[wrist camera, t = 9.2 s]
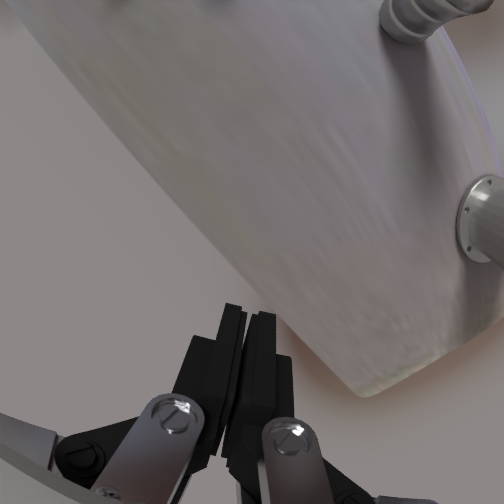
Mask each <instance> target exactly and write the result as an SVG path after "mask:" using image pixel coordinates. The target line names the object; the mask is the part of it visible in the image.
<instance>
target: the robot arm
mask: <svg viewBox="0 0 504 504" xmlns="http://www.w3.org/2000/svg"><path fill="white" fill-rule="evenodd" d="M456 228H457V237H458V242H459V244H460V247H461V249H462V250H463V252H464V253H465V255H467V256H468V257H469V258H470V259H472V260H473V261H475V262H478V263H488V262H491V261H493V262H495V263H496V264H497V265H499V266H500V267H501V268H503V269H504V178H502V177H499V176H495V175H485V176H483V177H480V178H479V179H477V180H476V181H475V182H474V183H473V184H472V185H471V186H470V187H469V188H468V190H467V191H466V193H465V195H464V197H463V199H462V201H461V204H460V207H459V210H458V215H457V225H456ZM241 310H242V307H241V306H237V305H233V304H229V303H226V305H225V308H224V312H223V315H222V319H221V322H220V326H219V330H218V334H217V337H216V340H211V339H208V338H204V337H200V336H196V335H194V336H193V338H192V340H191V343H190V345H189V348H188V350H187V353H186V356H185V358H184V361H183V364H182V367H181V369H180V372H179V374H178V377H177V380H176V383H175V385H174V388H173V391H172V393H171V394H169V393H168V394H162V395H159V396H157V397H155V398H153V399H152V400H151V401H150V402H149V403H148V404H147V406H146V407H145V409H144V410H143V412H142V413H141V414H140V416H139V417H135V418H132V419H129V420H126V421H122V422H119V423H116V424H112V425H108V426H105V427H102V428H98V429H94V430H90V431H86V432H82V433H78V434H74V435H71V436H68V437H63V436H60V435H57V433H56V432H55V431H52V430H48V429H45V428H42V427H39V426H35V425H32V424H29V423H26V422H23V421H21V420H18V419H15V418H12V417H10V416H7V415H5V414H2V413H0V504H180V502H181V499H182V497H183V495H184V493H185V491H186V488H187V486H188V484H189V482H190V479H191V477H192V474H194V473H196V472H198V471H200V470H202V469H204V468H206V467H207V464H208V461H209V458H210V455H213V456H216V453H217V450H218V447H219V444H220V441H221V438H222V435H223V432H224V429H225V426H226V429H225V435H224V442H223V447H222V454H221V457H223V458H227V465H226V467H228V468H229V473H230V474H231V475H232V476H233V477H234V478H235V479H236V480H237V482H236V492H237V504H438V503H437V502H435V501H433V500H427V499H410V498H398V497H389V496H378V497H377V498H375V497H371V496H370V495H369V494H368V493H367V492H366V491H365V490H363V489H362V488H361V487H359V486H358V485H357V484H355V483H354V482H353V481H351V480H350V479H349V478H348V477H346V476H345V475H344V474H343V473H341V472H340V471H339V470H337V469H336V468H335V467H334V466H332V465H331V464H330V463H329V462H328V461H326V460H325V459H324V458H323V457H322V454H321V450H320V447H319V443H318V439H317V437H316V435H315V432H314V431H313V430H312V428H311V427H310V426H309V425H307V424H306V423H304V422H303V421H301V420H298V419H296V418H294V396H293V376H292V360H291V357H289V356H284V355H279V354H276V314H272V313H267V312H263V311H259V313H258V315H256V314H252V316H251V319H250V323H249V327H248V330H247V334H246V337H245V341H244V344H243V338H244V332H245V325H246V319H247V312H243V311H241ZM242 345H243V348H242Z"/></svg>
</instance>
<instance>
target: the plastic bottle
mask: <svg viewBox="0 0 504 504" xmlns="http://www.w3.org/2000/svg"><path fill="white" fill-rule="evenodd" d="M493 2H494V0H384V2H383V3H382V5H381V8H380V10H379V20H380V23H381V25H382V27H383V29H384V30H385V31H386V32H387V33H388V34H389V35H390V36H391V37H392V38H393V39H395V40H397V41H399V42H401V43H405V44H414V43H420V42H423V41H425V40H426V39H427V38H428V37H429V36H431V35H432V34H433V32H434V31H435V30H436V29H438V28H439V27H440V26H442V25H443V24H445V23H446V22H449V21H451V20H454V19H456V18H460V17H464V16H469V15H473V14H478V13H481V12H484V11H486V10H487V9H489V7H490V6H491V5H492V4H493Z"/></svg>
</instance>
